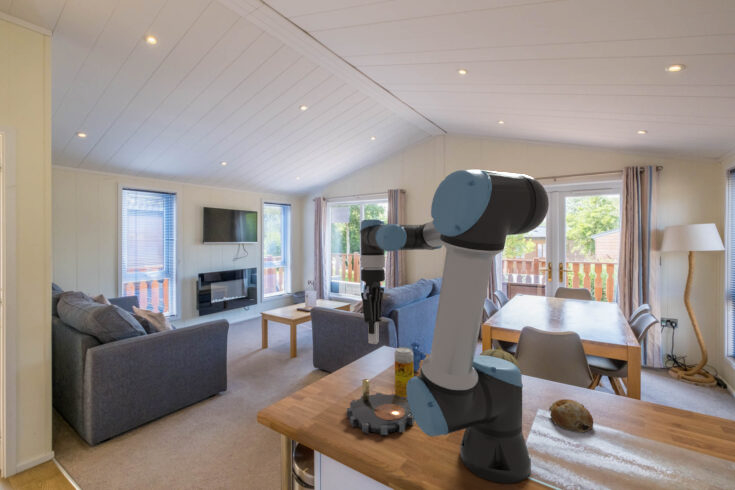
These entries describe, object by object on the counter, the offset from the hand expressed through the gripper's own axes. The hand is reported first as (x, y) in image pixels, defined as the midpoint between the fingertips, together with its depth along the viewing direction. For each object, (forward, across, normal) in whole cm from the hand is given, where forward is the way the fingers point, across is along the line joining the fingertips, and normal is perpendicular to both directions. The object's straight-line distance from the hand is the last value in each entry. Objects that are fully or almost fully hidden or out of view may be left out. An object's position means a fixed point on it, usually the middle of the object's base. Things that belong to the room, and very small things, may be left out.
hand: (373, 342), depth 107 cm
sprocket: (+18, +8, +6) cm, 21 cm away
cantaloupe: (+19, -20, +35) cm, 45 cm away
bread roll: (+19, -10, +55) cm, 59 cm away
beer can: (+19, -7, +8) cm, 21 cm away
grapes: (+19, -28, +6) cm, 34 cm away
